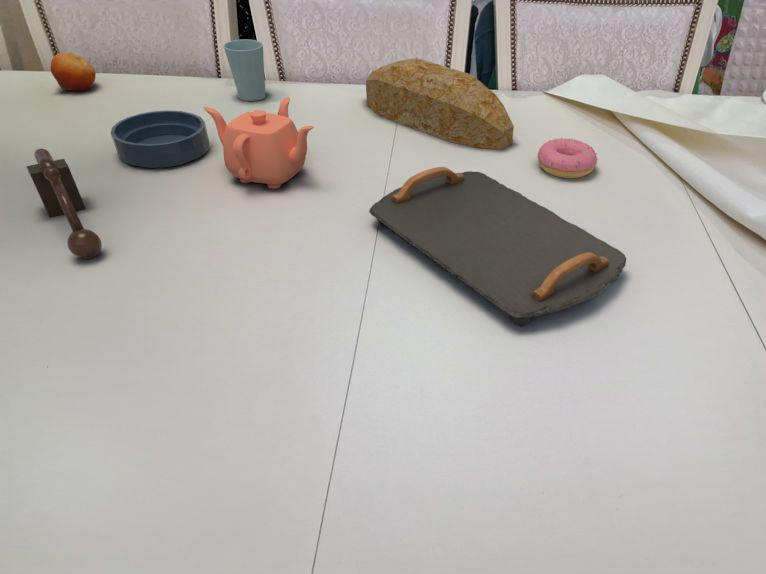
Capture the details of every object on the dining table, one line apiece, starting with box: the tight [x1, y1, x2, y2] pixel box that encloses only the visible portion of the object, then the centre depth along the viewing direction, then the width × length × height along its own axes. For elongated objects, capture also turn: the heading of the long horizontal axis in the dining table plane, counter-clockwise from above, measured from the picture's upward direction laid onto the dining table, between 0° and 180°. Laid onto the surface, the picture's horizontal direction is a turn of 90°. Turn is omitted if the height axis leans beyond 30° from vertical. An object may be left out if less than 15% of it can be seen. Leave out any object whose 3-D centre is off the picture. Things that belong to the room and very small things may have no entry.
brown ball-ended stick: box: [33, 148, 103, 260], centre depth 87 cm, size 20×4×9 cm, turn 37°
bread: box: [365, 57, 515, 151], centre depth 124 cm, size 36×11×10 cm, turn 53°
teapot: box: [203, 97, 315, 189], centre depth 102 cm, size 14×14×11 cm
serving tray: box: [368, 166, 627, 327], centre depth 90 cm, size 39×23×6 cm, turn 41°
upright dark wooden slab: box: [25, 158, 86, 218], centre depth 92 cm, size 3×5×7 cm, turn 127°
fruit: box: [50, 52, 97, 94], centre depth 129 cm, size 8×8×8 cm
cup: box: [223, 38, 267, 102], centre depth 129 cm, size 8×8×10 cm
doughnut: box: [536, 137, 598, 179], centre depth 112 cm, size 11×11×4 cm
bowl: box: [110, 109, 211, 169], centre depth 109 cm, size 15×15×4 cm
